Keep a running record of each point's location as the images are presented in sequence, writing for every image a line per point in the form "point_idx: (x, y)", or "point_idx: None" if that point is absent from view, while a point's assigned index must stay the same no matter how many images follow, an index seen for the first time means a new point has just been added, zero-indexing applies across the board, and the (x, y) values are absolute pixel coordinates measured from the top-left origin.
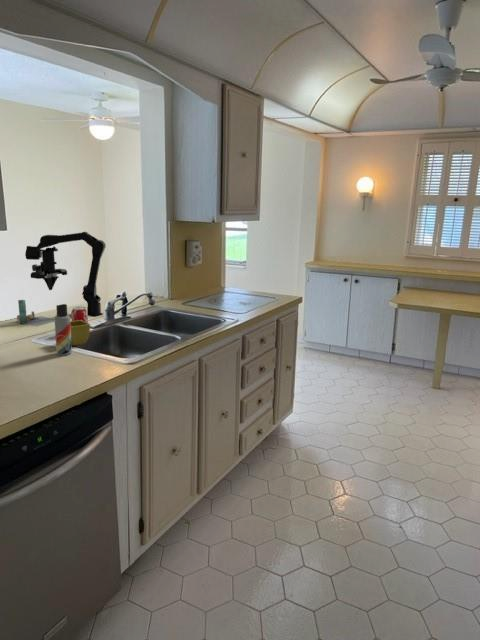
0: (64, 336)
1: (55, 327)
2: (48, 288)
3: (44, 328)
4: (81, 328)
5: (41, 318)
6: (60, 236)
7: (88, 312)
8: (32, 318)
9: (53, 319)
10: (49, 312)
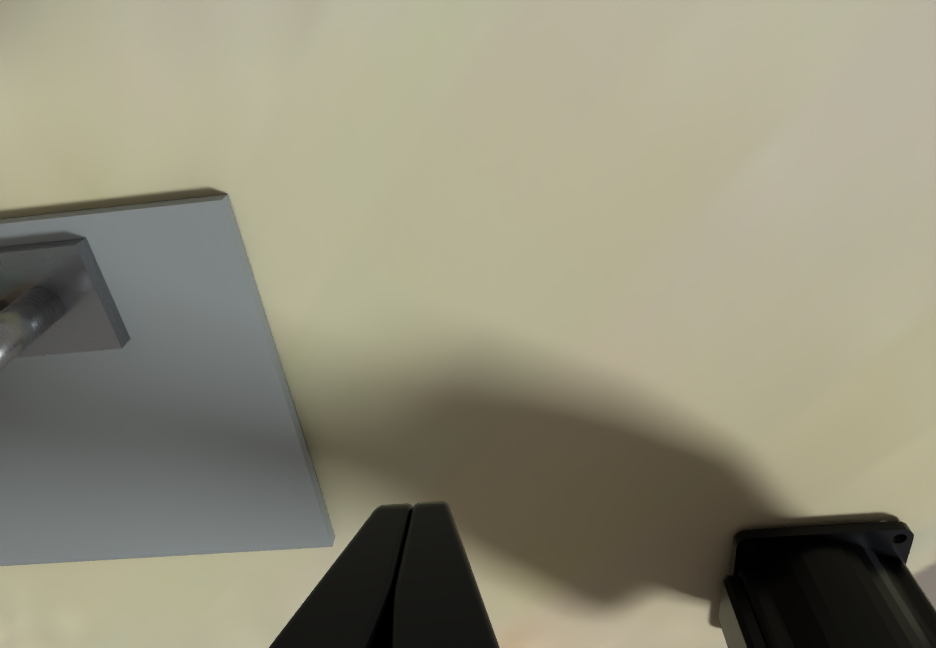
0: None
1: None
2: (341, 555)
3: (61, 619)
4: None
5: (171, 343)
6: None
7: (730, 614)
8: None
9: (277, 479)
10: (535, 3)
